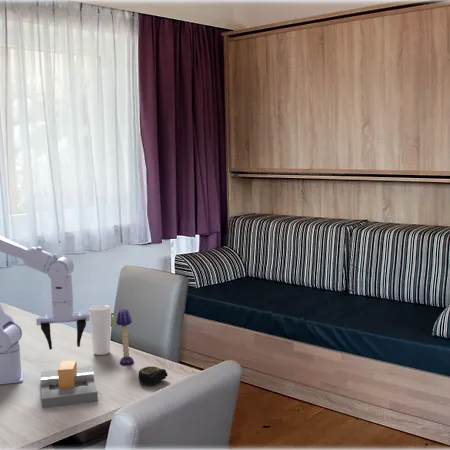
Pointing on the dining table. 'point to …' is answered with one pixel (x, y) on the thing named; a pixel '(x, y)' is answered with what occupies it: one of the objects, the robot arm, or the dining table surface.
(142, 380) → the tape measure
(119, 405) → the dining table surface
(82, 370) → the gray rectangular frame
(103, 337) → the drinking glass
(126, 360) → the toy lamp
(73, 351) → the dining table surface
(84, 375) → the hook bar
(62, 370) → the tall orange box
